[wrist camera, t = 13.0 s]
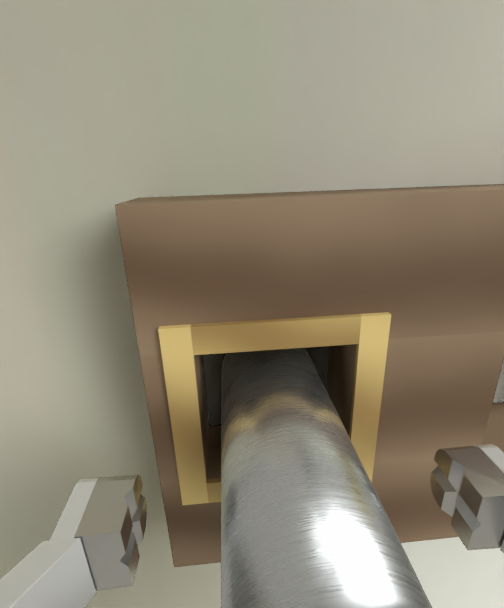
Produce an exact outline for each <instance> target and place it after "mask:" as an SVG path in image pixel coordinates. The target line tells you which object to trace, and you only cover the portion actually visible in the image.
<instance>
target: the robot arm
mask: <svg viewBox="0 0 504 608" xmlns="http://www.w3.org/2000/svg"><path fill="white" fill-rule="evenodd" d="M434 460H435V462H436V463H437V465H438V466H437V467H436V468H435V469H434V470H433V471H432V472H431V478H430V484H431V490H432V493H433V496H434V498H435V500H436V502H437V504H438V505H439V507H440V508H441V510H443V511H444V512H446V513H447V514H449V515H450V516H452V519H451V526H452V527H453V529H454V530H455V532H456V533H457V535H458V536H459V538H460V539H461V541H462V542H463V544H464V545H465V547H466V549H467V550H477V549H490V548H501V549H500V550H501V551H502V552H504V453H503V452H502V451H501V450H500V449H499V448H498V447H497V446H495V445H493V444H486V445H475V446H464V447H454V448H443V449H438V451H437V452H436V453H435V458H434ZM141 489H142V481H141V477H140V476H139V475H132V476H115V477H100V478H88V479H80V480H79V481H78V482H77V483H76V484H75V486H74V488H73V490H72V493H71V495H70V497H69V499H68V501H67V503H66V505H65V508H64V510H63V512H62V514H61V516H60V518H59V520H58V522H57V525H56V527H55V529H54V531H53V533H52V535H51V537H50V540H48V541H42V542H41V543H40V544H39V545H38V546H37V547H36V548H35V549H33V550H32V551H31V552H30V553H29V554H28V555H27V556H26V557H25V558H23V559H22V560H21V561H20V562H19V563H18V564H17V565H16V566H15V567H13V568H12V569H11V570H10V571H9V572H8V573H7V574H6V575H5V576H3V577H2V578H1V579H0V608H86V607H87V605H88V604H89V603H90V601H91V600H92V598H93V597H94V596H95V594H96V591H98V590H105V589H112V588H119V587H127V586H133V583H134V579H135V574H136V570H137V565H138V560H139V552H138V547H137V545H138V544H139V543H140V541H141V540H142V539H143V537H144V532H145V526H146V502H145V498H144V497H143V496H142V495H141Z"/></svg>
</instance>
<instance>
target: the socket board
mask: <svg viewBox="0 0 504 608" xmlns="http://www.w3.org/2000/svg"><path fill="white" fill-rule="evenodd" d="M115 208H116V215H117V221H118V227H119V233H120V239H121V245H122V251H123V257H124V263H125V270H126V276H127V282H128V288H129V294H130V300H131V306H132V312H133V318H134V325H135V331H136V337H137V343H138V349H139V355H140V361H141V367H142V373H143V379H144V386H145V392H146V398H147V404H148V410H149V416H150V422H151V428H152V434H153V441H154V447H155V453H156V459H157V465H158V471H159V477H160V483H161V489H162V496H163V502H164V508H165V514H166V520H167V526H168V532H169V538H170V544H171V550H172V557H173V563H174V567H180V566H189V565H199V564H208V563H217V562H221V426H209V419H208V408H207V397H206V387H205V376H204V365H203V355H204V354H219V353H234V352H248V351H263V350H278V349H293V348H308V347H322V346H329V358H328V378H327V392H328V394H329V397H330V399H331V401H332V403H333V405H334V407H335V409H336V411H337V413H338V415H339V417H340V419H341V421H342V423H343V425H344V427H345V429H346V432H347V434H348V436H349V438H350V440H351V442H352V444H353V446H354V448H355V450H356V452H357V454H358V456H359V458H360V460H361V462H362V464H363V467H364V469H365V471H366V473H367V475H368V477H369V479H370V481H371V483H372V485H373V487H374V489H375V491H376V493H377V495H378V497H379V499H380V502H381V504H382V506H383V508H384V510H385V512H386V514H387V516H388V518H389V520H390V522H391V524H392V526H393V528H394V530H395V532H396V534H397V536H398V539H399V541H400V543H404V542H414V541H423V540H432V539H442V538H451V537H459V536H458V535H457V533H456V532H455V530H454V529H453V527H452V526H451V519H452V516H450V515H449V514H447V513H446V512H444V511H443V510H441V508H440V507H439V505H438V504H437V502H436V500H435V498H434V496H433V493H432V490H431V484H430V478H431V472H432V471H433V470H434V469H435V468H436V467H437V466H438V465H437V463H436V462H435V460H434V458H435V453H436V452H437V451H438V449H443V448H454V447H464V446H475V445H486V444H493V445H495V446H497V447H498V448H499V449H500V450H501V451H502V452H503V453H504V403H493V399H494V395H495V391H496V387H497V383H498V379H499V375H500V371H501V367H502V363H503V359H504V184H495V185H468V186H442V187H416V188H389V189H363V190H336V191H310V192H283V193H257V194H230V195H204V196H177V197H151V198H137V199H133V200H130V201H127V202H123V203H120V204H116V205H115Z"/></svg>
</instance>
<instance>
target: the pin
mask: <svg viewBox="0 0 504 608" xmlns="http://www.w3.org/2000/svg"><path fill="white" fill-rule="evenodd" d="M221 608H432V606H431V604H430V602H429V600H428V598H427V596H426V594H425V592H424V590H423V588H422V586H421V584H420V582H419V580H418V578H417V576H416V574H415V571H414V569H413V567H412V565H411V563H410V561H409V559H408V557H407V555H406V553H405V551H404V549H403V547H402V545H401V543H400V541H399V539H398V536H397V534H396V532H395V530H394V528H393V526H392V524H391V522H390V520H389V518H388V516H387V514H386V512H385V510H384V508H383V506H382V504H381V502H380V499H379V497H378V495H377V493H376V491H375V489H374V487H373V485H372V483H371V481H370V479H369V477H368V475H367V473H366V471H365V469H364V467H363V464H362V462H361V460H360V458H359V456H358V454H357V452H356V450H355V448H354V446H353V444H352V442H351V440H350V438H349V436H348V434H347V432H346V429H345V427H344V425H343V423H342V421H341V419H340V417H339V415H338V413H337V411H336V409H335V407H334V405H333V403H332V401H331V399H330V397H329V394H328V392H327V390H326V388H325V386H324V384H323V382H322V380H321V378H320V376H319V374H318V372H317V370H316V368H315V366H314V364H313V362H312V360H311V357H310V355H309V353H308V351H307V350H306V348H293V349H278V350H263V351H248V352H234V353H226V355H225V357H224V359H223V363H222V368H221Z"/></svg>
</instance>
